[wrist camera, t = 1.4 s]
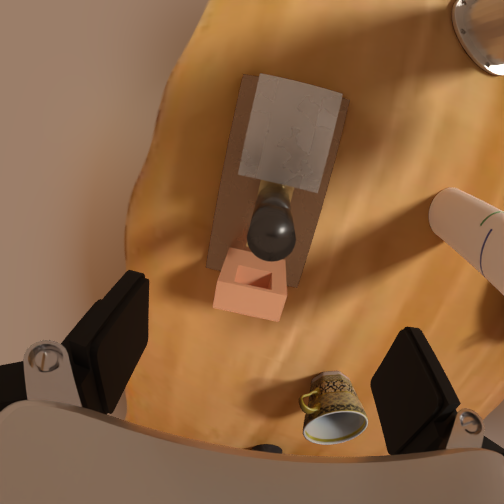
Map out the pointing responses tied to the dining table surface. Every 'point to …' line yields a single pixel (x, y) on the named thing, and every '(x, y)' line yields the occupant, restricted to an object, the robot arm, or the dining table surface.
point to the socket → (251, 286)
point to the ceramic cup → (332, 410)
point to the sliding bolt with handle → (272, 223)
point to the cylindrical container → (471, 231)
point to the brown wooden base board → (277, 161)
